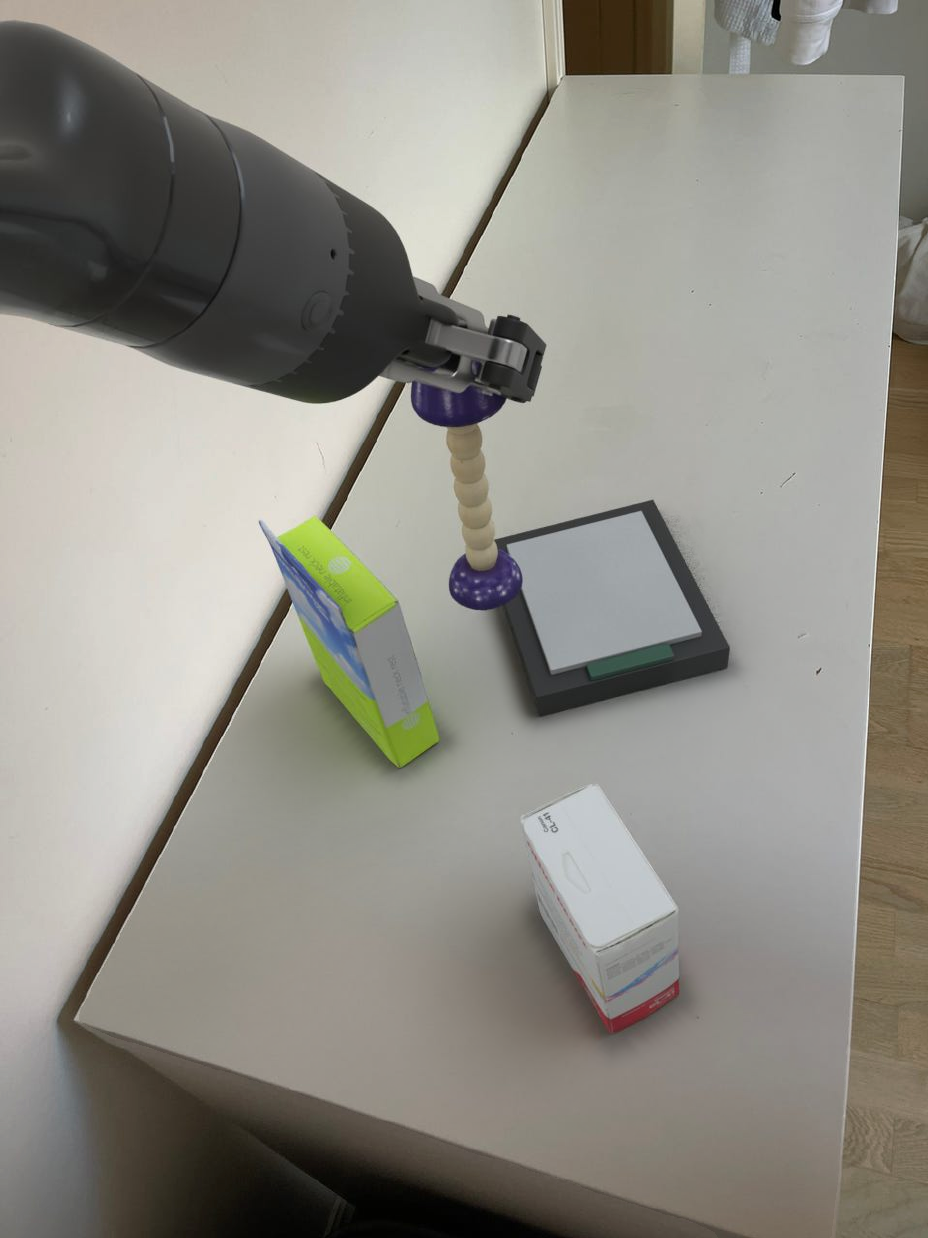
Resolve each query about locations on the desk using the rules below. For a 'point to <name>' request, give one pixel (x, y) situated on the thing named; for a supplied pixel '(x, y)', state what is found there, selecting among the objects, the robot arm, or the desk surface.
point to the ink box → (604, 905)
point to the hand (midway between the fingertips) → (478, 368)
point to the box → (356, 638)
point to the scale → (607, 609)
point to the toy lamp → (471, 494)
